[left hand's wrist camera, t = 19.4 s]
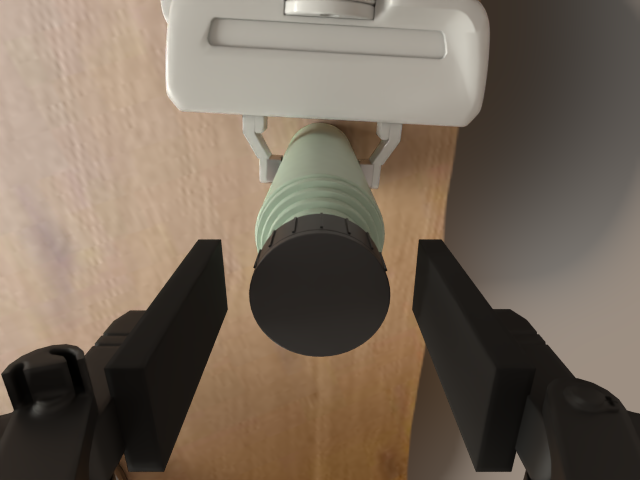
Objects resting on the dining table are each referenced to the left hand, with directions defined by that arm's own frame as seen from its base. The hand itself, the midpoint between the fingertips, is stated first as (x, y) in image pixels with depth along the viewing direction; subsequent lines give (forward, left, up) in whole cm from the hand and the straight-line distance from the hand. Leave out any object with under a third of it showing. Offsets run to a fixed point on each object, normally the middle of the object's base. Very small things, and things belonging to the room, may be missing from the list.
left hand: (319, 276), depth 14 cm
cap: (0, 0, +1) cm, 1 cm away
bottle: (0, 0, -22) cm, 22 cm away
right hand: (-1, 0, -16) cm, 16 cm away
